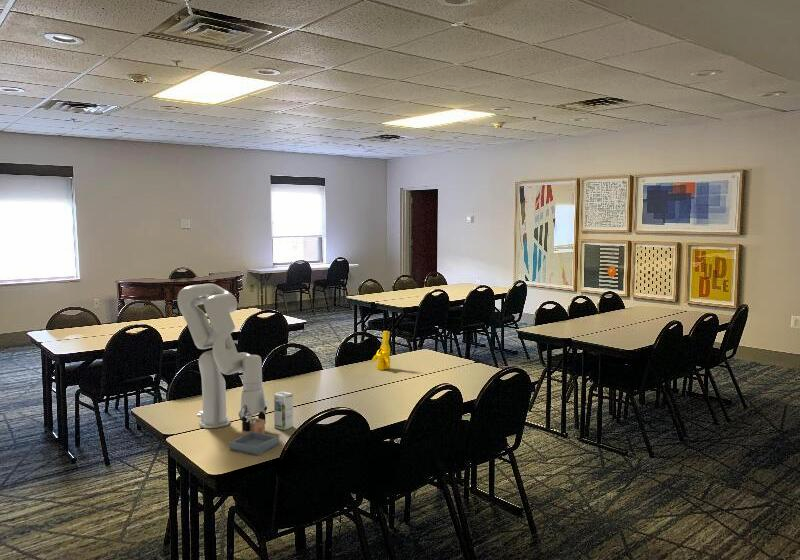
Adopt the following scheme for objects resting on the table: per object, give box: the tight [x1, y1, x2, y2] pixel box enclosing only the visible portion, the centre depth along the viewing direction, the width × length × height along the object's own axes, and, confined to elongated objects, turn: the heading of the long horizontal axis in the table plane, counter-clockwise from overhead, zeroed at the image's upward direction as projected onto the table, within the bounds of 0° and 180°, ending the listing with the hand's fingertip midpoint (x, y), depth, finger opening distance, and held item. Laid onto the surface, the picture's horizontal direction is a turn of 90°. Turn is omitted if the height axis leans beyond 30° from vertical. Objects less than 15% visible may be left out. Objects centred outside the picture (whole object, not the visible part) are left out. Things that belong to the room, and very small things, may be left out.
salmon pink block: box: [241, 417, 266, 436], centre depth 247 cm, size 8×6×5 cm
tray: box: [228, 431, 280, 457], centre depth 232 cm, size 13×13×3 cm
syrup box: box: [273, 391, 294, 431], centre depth 253 cm, size 6×6×14 cm
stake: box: [250, 417, 257, 423], centre depth 247 cm, size 2×2×6 cm
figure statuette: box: [370, 330, 391, 371], centre depth 352 cm, size 18×8×22 cm, turn 39°
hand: (254, 427), depth 247 cm, fingers open, 9 cm apart
